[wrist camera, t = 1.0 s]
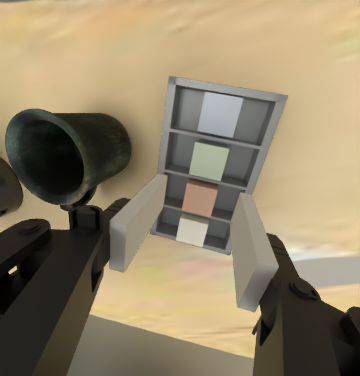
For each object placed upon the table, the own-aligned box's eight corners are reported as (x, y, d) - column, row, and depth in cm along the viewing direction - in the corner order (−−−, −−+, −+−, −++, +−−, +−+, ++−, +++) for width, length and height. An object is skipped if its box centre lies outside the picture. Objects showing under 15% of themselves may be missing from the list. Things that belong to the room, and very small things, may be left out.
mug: (138, 118, 29) (89, 122, 18) (129, 198, 35) (88, 237, 24) (76, 103, 30) (-6, 97, 19) (78, 183, 36) (16, 213, 25)
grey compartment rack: (156, 221, 36) (149, 233, 32) (176, 81, 26) (168, 75, 22) (228, 240, 34) (229, 255, 30) (277, 98, 24) (288, 95, 21)
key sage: (191, 169, 27) (188, 174, 25) (197, 139, 26) (195, 142, 23) (220, 175, 27) (220, 181, 25) (228, 145, 25) (229, 149, 23)
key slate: (199, 129, 25) (197, 130, 23) (206, 93, 23) (205, 91, 21) (231, 135, 24) (232, 137, 22) (241, 99, 23) (243, 98, 21)
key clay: (184, 202, 30) (181, 210, 28) (189, 177, 28) (187, 183, 26) (211, 209, 29) (210, 217, 27) (218, 184, 27) (218, 190, 25)
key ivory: (178, 231, 32) (175, 240, 30) (183, 210, 30) (180, 217, 28) (203, 238, 32) (202, 247, 29) (209, 216, 30) (208, 224, 28)
